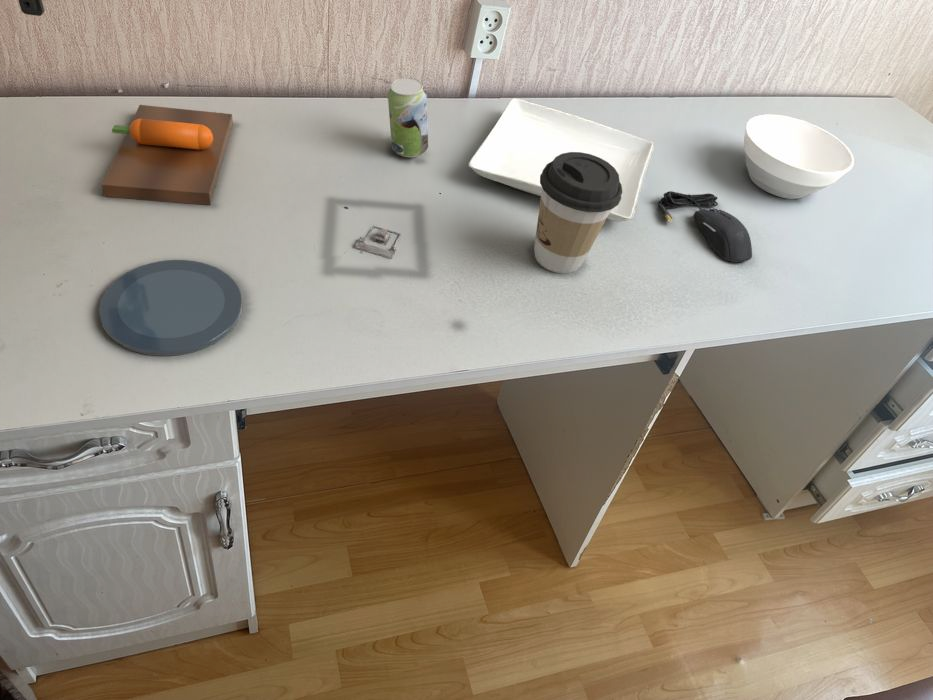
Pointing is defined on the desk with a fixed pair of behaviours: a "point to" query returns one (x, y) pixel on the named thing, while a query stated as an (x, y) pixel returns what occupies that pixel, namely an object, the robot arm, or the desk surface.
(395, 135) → the beverage can
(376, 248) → the metal mounting bracket
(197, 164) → the cutting board
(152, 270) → the slate plate
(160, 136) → the carrot
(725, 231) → the computer mouse
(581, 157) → the coffee cup
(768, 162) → the bowl
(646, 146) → the square plate
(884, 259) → the desk surface
